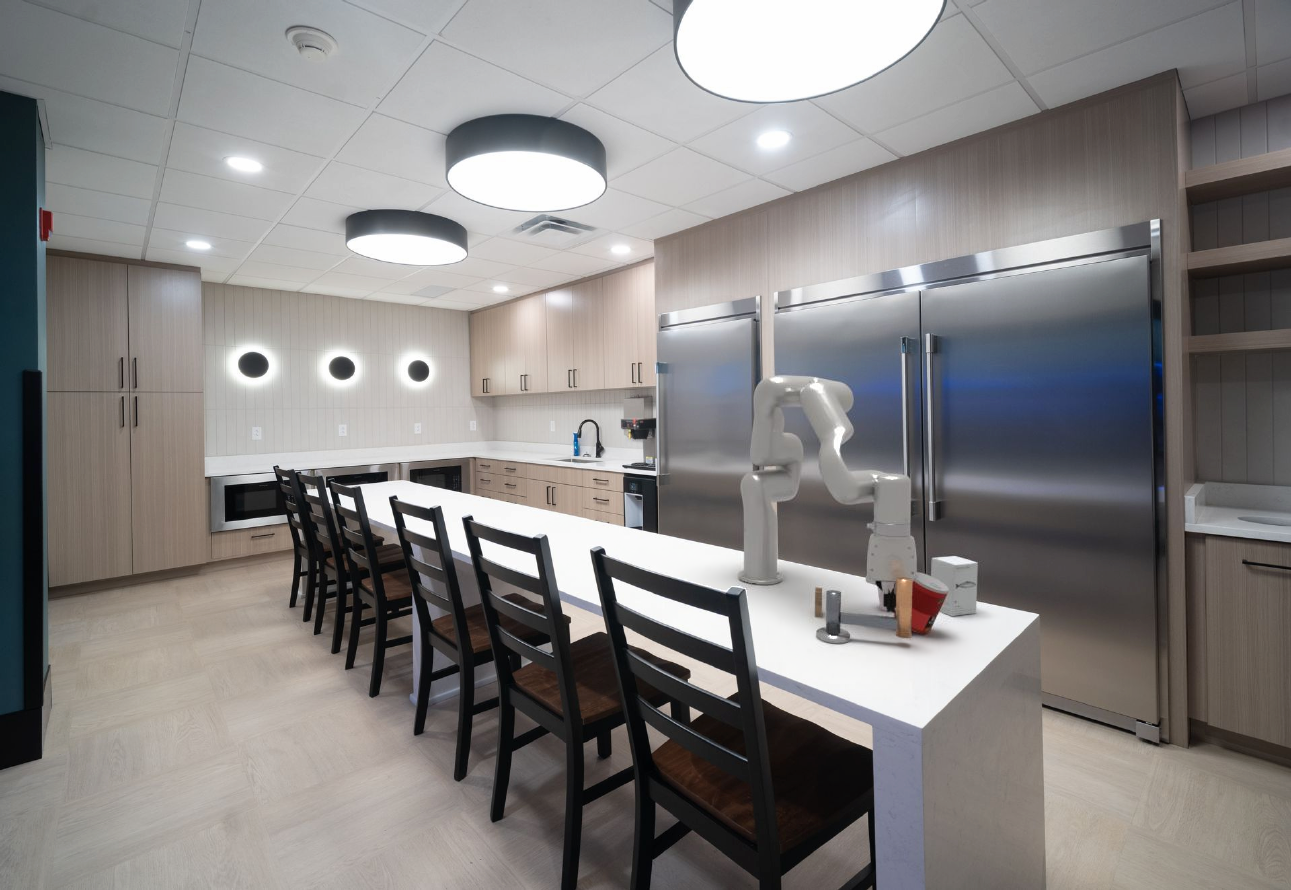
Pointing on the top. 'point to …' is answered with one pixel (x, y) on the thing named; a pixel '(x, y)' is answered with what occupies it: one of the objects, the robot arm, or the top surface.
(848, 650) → the top surface
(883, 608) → the smoothie
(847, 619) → the double handled crank lever
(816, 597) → the brown wooden block
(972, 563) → the supplement box
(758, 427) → the robot arm
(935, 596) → the canned food
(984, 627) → the top surface
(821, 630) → the pivot base
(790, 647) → the top surface
